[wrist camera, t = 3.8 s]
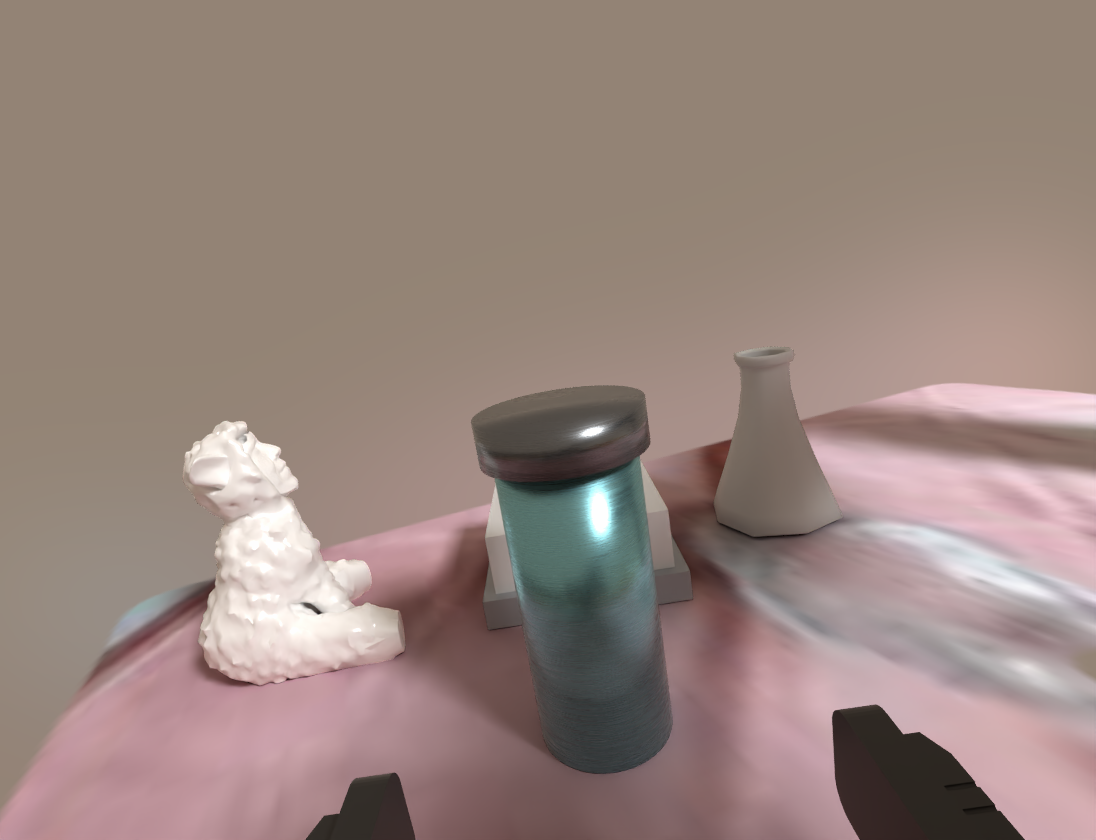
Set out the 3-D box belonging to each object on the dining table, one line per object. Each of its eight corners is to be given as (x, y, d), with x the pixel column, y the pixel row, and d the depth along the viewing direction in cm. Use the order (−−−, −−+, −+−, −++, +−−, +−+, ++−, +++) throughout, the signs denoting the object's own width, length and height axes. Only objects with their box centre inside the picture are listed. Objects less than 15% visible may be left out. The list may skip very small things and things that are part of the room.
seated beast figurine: (419, 654, 28) (360, 407, 25) (215, 748, 24) (117, 466, 21) (368, 581, 36) (319, 388, 33) (209, 642, 32) (138, 428, 29)
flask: (695, 504, 40) (679, 355, 37) (797, 483, 40) (788, 336, 38) (745, 551, 33) (730, 371, 30) (868, 524, 33) (862, 347, 31)
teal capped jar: (666, 661, 25) (630, 377, 22) (702, 770, 19) (660, 412, 16) (532, 680, 25) (479, 401, 22) (531, 795, 19) (460, 443, 17)
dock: (654, 517, 38) (645, 450, 37) (693, 599, 29) (683, 512, 28) (500, 540, 39) (488, 475, 38) (488, 629, 29) (471, 545, 28)
